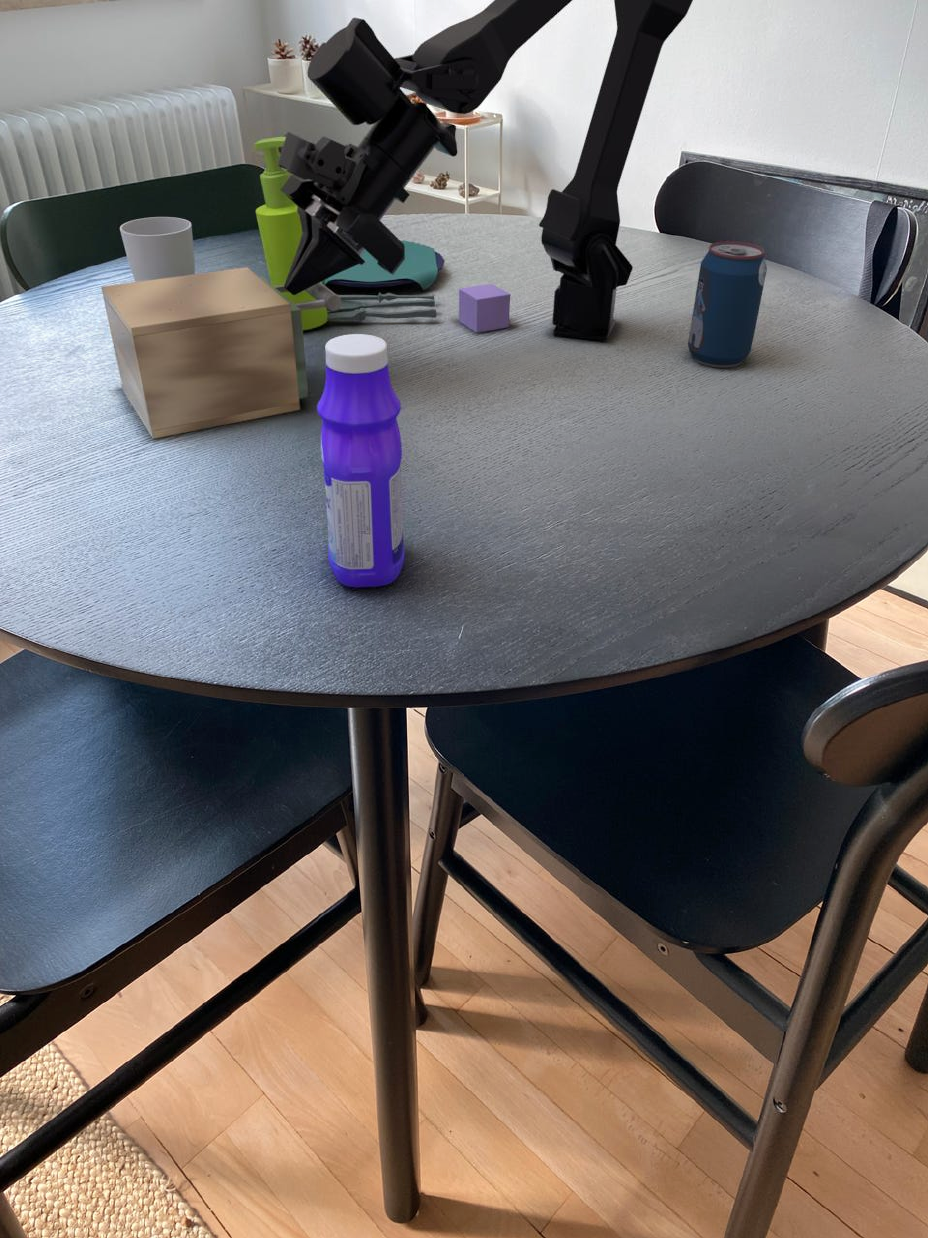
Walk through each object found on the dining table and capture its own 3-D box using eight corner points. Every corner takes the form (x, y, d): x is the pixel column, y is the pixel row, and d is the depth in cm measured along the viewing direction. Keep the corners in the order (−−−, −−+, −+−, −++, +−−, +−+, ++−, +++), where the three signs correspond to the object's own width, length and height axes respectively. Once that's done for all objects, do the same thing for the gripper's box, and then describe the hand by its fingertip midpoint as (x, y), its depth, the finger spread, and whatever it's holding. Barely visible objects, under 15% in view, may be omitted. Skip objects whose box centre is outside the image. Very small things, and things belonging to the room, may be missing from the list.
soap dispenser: (327, 330, 111) (294, 143, 99) (272, 331, 112) (232, 146, 100) (342, 311, 115) (312, 130, 103) (289, 312, 117) (253, 134, 105)
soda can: (759, 358, 107) (782, 248, 100) (728, 375, 103) (749, 261, 96) (706, 342, 111) (725, 235, 104) (674, 358, 107) (690, 247, 100)
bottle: (331, 543, 75) (313, 324, 64) (403, 540, 75) (397, 323, 65) (328, 596, 69) (308, 365, 58) (406, 593, 69) (401, 364, 59)
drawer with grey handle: (314, 350, 105) (307, 268, 99) (354, 388, 97) (349, 300, 91) (145, 380, 98) (128, 292, 92) (174, 423, 90) (157, 330, 84)
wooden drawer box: (259, 366, 103) (247, 266, 97) (300, 409, 95) (290, 303, 88) (122, 390, 98) (100, 286, 91) (152, 439, 89) (130, 327, 83)
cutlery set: (441, 253, 138) (441, 236, 137) (452, 325, 115) (453, 306, 113) (304, 253, 137) (302, 237, 136) (286, 326, 113) (284, 307, 112)
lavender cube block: (490, 315, 117) (491, 283, 115) (509, 327, 114) (510, 293, 112) (458, 321, 116) (458, 288, 113) (476, 333, 113) (477, 299, 110)
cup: (216, 304, 119) (204, 220, 113) (180, 325, 113) (166, 238, 107) (160, 296, 121) (146, 214, 115) (122, 316, 115) (105, 230, 109)
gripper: (291, 83, 93) (196, 215, 95) (368, 113, 80) (256, 265, 82) (369, 164, 100) (280, 283, 103) (450, 203, 87) (346, 339, 90)
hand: (288, 291), depth 94 cm, fingers closed
